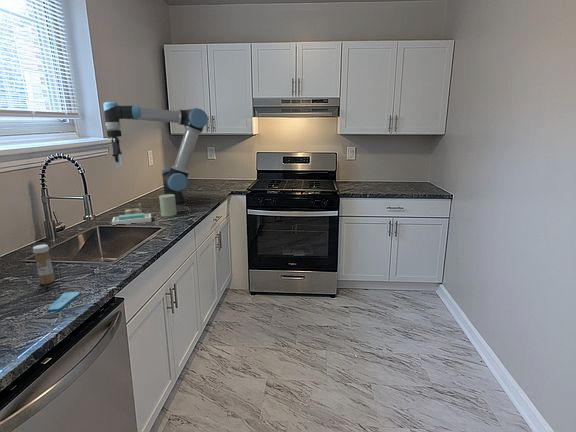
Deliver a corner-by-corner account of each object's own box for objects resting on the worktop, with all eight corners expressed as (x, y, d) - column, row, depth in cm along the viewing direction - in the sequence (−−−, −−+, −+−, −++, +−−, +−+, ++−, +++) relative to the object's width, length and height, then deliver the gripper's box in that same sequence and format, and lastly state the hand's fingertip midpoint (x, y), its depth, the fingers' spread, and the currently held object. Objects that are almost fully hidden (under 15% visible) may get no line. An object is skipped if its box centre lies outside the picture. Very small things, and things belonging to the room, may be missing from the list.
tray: (151, 217, 216) (150, 213, 215) (151, 221, 207) (150, 217, 206) (113, 221, 210) (113, 217, 209) (112, 226, 200) (111, 221, 200)
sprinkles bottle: (37, 284, 130) (29, 248, 126) (45, 279, 134) (38, 244, 131) (50, 284, 130) (42, 248, 126) (57, 279, 134) (50, 243, 130)
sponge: (40, 310, 111) (58, 308, 111) (64, 292, 123) (81, 289, 122) (41, 315, 111) (60, 312, 111) (65, 296, 123) (82, 294, 123)
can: (164, 217, 216) (162, 197, 213) (158, 214, 223) (156, 194, 219) (179, 214, 221) (177, 194, 218) (173, 211, 228) (171, 192, 225)
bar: (144, 217, 212) (144, 212, 212) (144, 219, 208) (143, 214, 207) (120, 220, 208) (119, 215, 207) (119, 222, 204) (118, 217, 203)
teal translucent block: (142, 215, 221) (140, 203, 219) (142, 217, 217) (140, 204, 215) (126, 217, 218) (124, 204, 216) (125, 218, 214) (123, 206, 212)
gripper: (108, 129, 226) (113, 164, 231) (104, 130, 203) (110, 169, 208) (122, 129, 228) (126, 163, 234) (119, 130, 205) (124, 168, 211)
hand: (118, 166), depth 221 cm, fingers open, 13 cm apart
